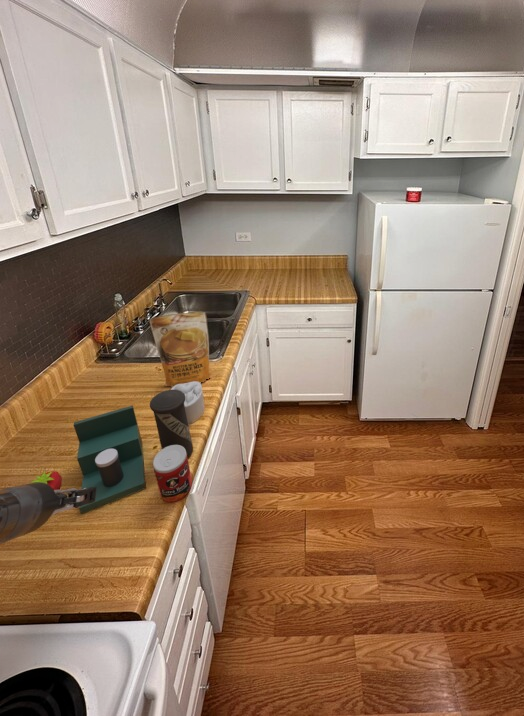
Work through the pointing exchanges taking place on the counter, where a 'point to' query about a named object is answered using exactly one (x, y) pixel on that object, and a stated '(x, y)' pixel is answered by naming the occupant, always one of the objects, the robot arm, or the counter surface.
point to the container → (172, 419)
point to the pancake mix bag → (182, 346)
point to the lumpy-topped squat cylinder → (192, 400)
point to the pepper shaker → (109, 467)
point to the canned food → (172, 473)
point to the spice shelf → (110, 434)
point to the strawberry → (50, 479)
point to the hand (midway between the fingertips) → (68, 496)
